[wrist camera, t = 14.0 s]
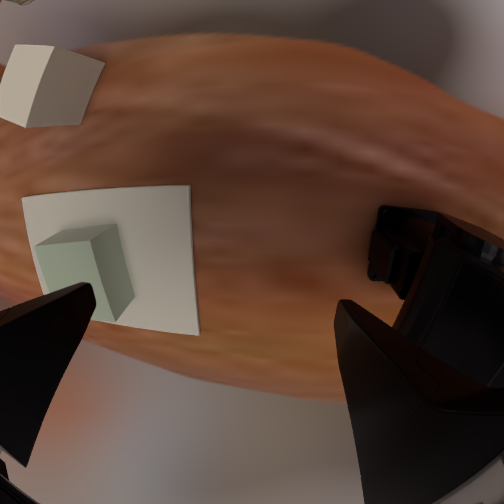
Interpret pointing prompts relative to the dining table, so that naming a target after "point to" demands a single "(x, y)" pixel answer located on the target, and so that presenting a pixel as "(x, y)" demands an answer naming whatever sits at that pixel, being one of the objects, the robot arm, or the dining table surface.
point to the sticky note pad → (89, 266)
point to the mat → (133, 246)
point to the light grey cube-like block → (47, 86)
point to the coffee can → (21, 1)
